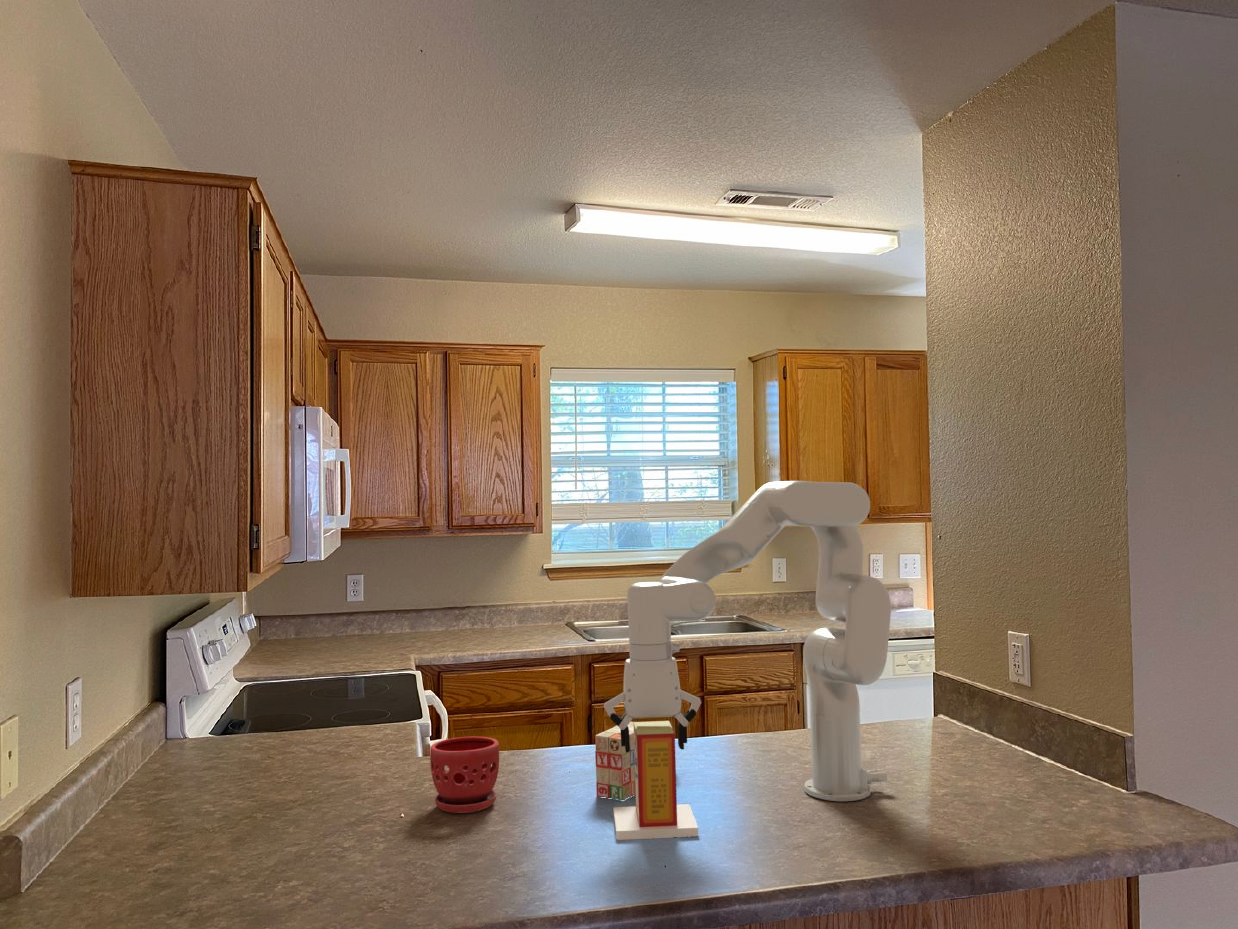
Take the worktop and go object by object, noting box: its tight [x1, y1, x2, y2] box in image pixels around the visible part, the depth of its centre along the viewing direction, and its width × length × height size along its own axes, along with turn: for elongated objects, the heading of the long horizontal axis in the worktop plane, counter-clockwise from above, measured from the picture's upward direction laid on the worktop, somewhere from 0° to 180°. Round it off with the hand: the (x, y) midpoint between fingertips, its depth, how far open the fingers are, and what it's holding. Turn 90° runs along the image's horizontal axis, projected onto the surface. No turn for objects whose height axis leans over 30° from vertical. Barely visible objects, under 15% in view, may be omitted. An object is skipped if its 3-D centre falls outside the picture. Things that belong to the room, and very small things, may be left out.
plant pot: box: [429, 736, 500, 814], centre depth 172 cm, size 13×13×12 cm
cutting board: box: [612, 803, 699, 841], centre depth 159 cm, size 14×12×2 cm
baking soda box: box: [633, 720, 678, 827], centre depth 159 cm, size 10×6×16 cm
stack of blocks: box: [594, 721, 635, 800], centre depth 183 cm, size 21×6×12 cm, turn 149°
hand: (654, 748), depth 160 cm, fingers open, 9 cm apart
